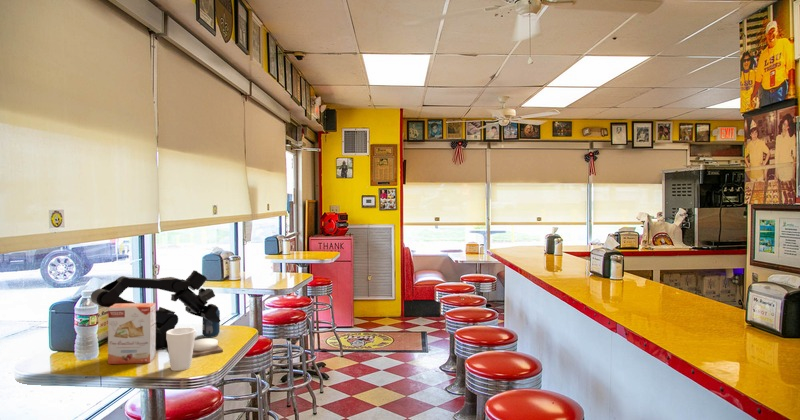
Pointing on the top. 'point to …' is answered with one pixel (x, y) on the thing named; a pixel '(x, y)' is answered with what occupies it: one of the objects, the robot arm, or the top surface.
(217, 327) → the soda can
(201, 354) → the plinth board
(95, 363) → the top surface
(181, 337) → the foam cup
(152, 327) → the cracker box
